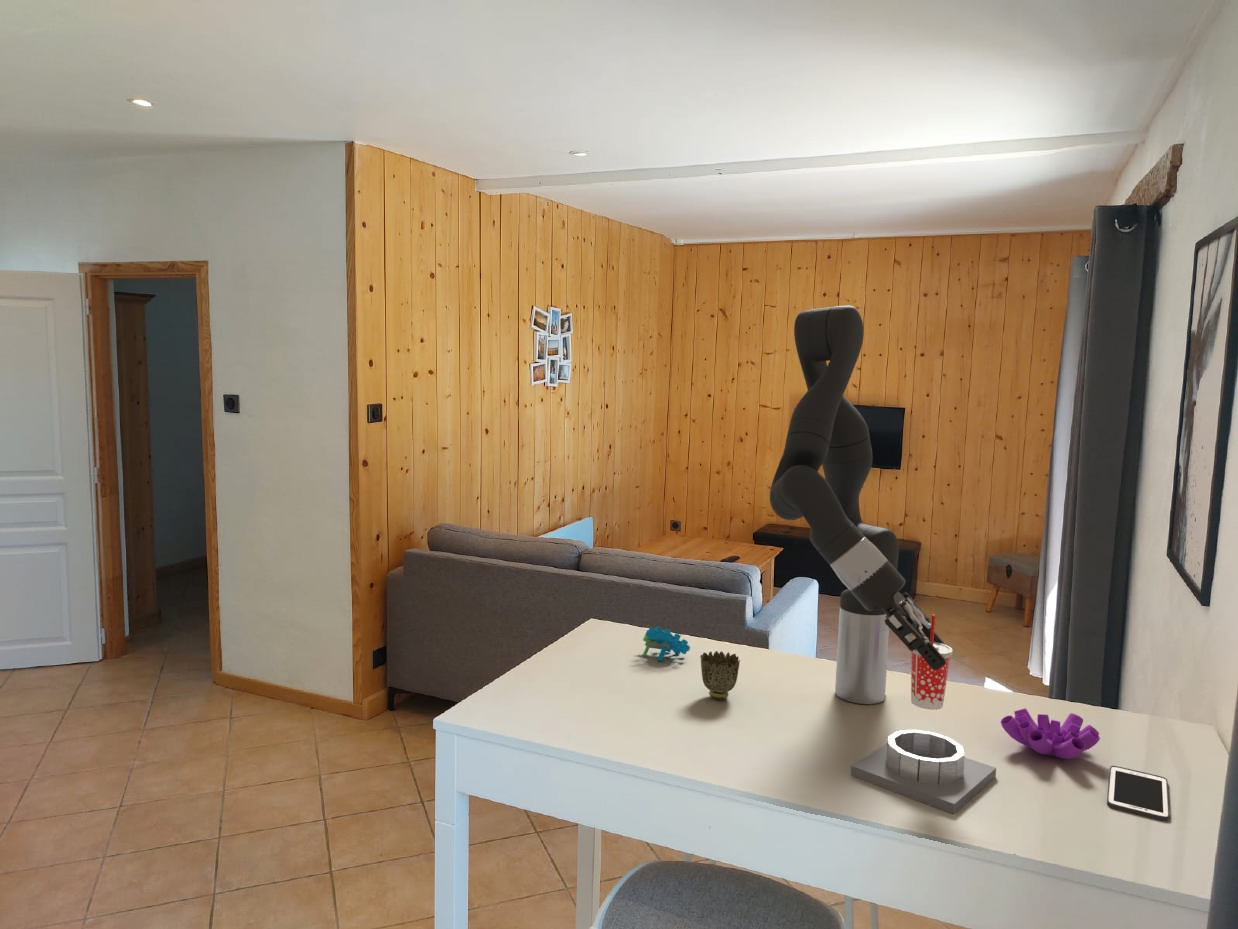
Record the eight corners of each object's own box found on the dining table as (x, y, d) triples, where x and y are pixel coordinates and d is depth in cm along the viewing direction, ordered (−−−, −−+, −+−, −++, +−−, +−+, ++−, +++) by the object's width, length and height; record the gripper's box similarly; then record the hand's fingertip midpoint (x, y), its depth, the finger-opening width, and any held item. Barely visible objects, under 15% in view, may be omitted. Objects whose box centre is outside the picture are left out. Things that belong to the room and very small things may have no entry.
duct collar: (905, 744, 139) (907, 724, 139) (973, 767, 131) (975, 745, 131) (874, 766, 131) (875, 744, 131) (944, 791, 123) (945, 768, 123)
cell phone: (1167, 783, 132) (1167, 777, 132) (1169, 825, 119) (1170, 818, 119) (1109, 770, 136) (1110, 764, 136) (1106, 809, 123) (1106, 803, 123)
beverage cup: (957, 709, 128) (964, 619, 127) (925, 713, 126) (932, 622, 125) (928, 694, 134) (935, 607, 132) (897, 698, 132) (903, 610, 130)
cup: (740, 706, 157) (742, 664, 156) (700, 705, 157) (702, 663, 156) (735, 691, 165) (737, 651, 164) (697, 689, 165) (699, 650, 164)
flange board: (897, 744, 143) (898, 735, 142) (995, 777, 132) (996, 767, 131) (850, 775, 131) (851, 765, 131) (953, 814, 120) (954, 804, 120)
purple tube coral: (1098, 783, 137) (1113, 754, 131) (998, 770, 141) (1007, 740, 135) (1087, 721, 145) (1101, 690, 139) (993, 710, 149) (1001, 679, 143)
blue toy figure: (699, 651, 182) (676, 625, 177) (689, 675, 179) (666, 650, 174) (659, 646, 190) (636, 621, 184) (648, 669, 187) (625, 645, 181)
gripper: (880, 567, 124) (961, 659, 121) (890, 550, 137) (964, 632, 134) (841, 598, 127) (918, 689, 123) (855, 578, 140) (926, 659, 136)
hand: (942, 659), depth 129 cm, fingers closed on beverage cup, 6 cm apart
